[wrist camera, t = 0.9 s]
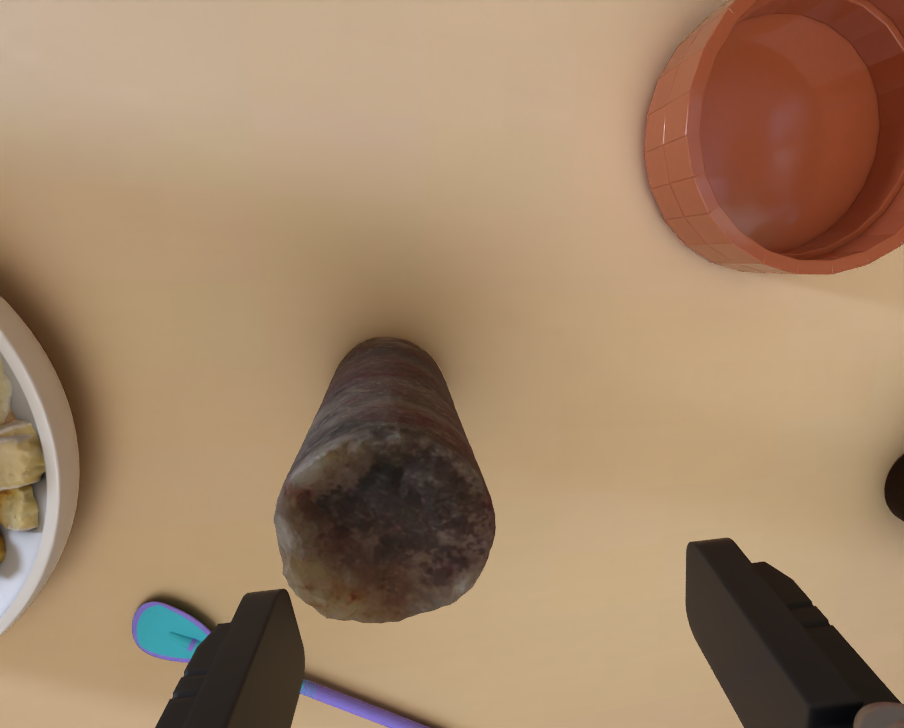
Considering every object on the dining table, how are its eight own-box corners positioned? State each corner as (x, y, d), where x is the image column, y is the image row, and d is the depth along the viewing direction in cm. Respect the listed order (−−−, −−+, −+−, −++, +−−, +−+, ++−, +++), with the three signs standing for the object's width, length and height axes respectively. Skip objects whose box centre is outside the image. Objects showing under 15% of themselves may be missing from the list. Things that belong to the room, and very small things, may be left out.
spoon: (125, 638, 38) (116, 650, 37) (145, 589, 38) (136, 600, 36) (449, 743, 42) (450, 757, 41) (471, 700, 41) (473, 712, 40)
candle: (460, 350, 36) (525, 459, 17) (434, 452, 38) (466, 666, 18) (346, 323, 35) (273, 405, 16) (322, 429, 37) (228, 628, 17)
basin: (617, 34, 33) (662, -13, 27) (873, -30, 34) (971, -91, 28) (663, 299, 37) (712, 307, 31) (895, 236, 37) (986, 233, 31)
